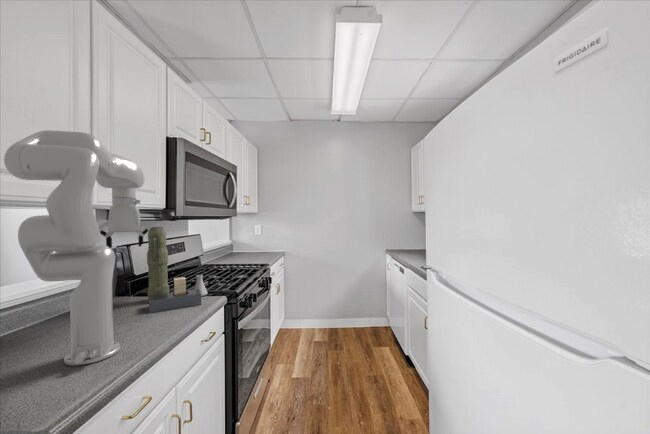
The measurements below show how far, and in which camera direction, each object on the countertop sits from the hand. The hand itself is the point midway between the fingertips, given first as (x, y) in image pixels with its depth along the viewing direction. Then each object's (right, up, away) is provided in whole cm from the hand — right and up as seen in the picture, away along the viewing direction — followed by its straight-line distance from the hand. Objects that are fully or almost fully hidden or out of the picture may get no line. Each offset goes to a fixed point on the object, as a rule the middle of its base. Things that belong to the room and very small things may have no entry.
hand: (125, 247), depth 112 cm
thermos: (-3, -28, +27) cm, 39 cm away
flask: (+14, -28, +34) cm, 46 cm away
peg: (+12, -28, +18) cm, 35 cm away
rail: (+11, -28, +17) cm, 34 cm away
